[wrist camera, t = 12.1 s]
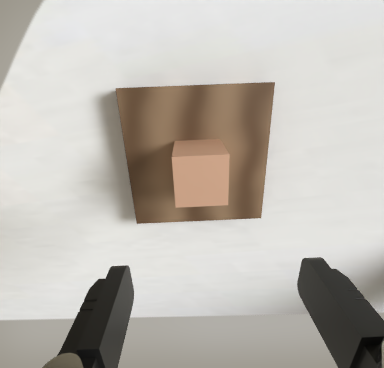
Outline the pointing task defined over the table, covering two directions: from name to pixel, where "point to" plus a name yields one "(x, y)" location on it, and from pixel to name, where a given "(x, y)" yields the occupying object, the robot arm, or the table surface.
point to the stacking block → (200, 173)
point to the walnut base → (196, 130)
